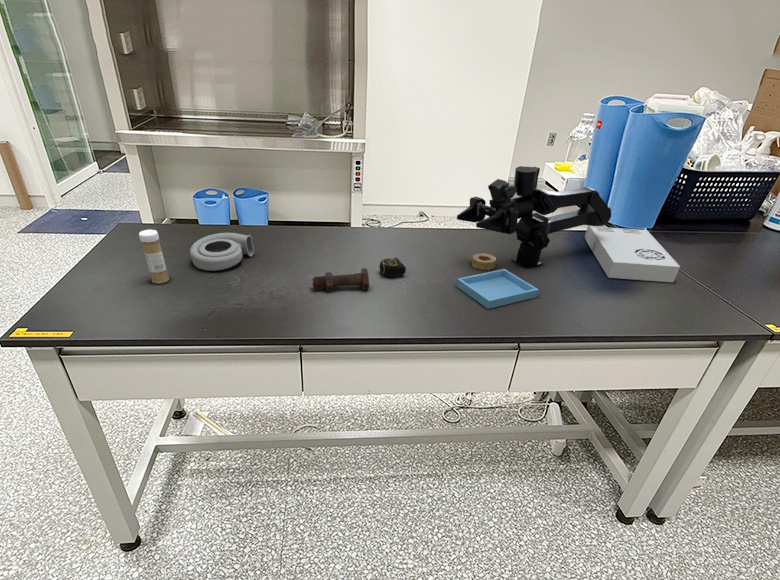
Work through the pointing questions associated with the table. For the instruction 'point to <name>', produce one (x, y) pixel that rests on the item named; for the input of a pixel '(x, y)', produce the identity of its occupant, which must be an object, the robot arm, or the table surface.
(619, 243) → the power supply unit
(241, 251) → the turbocharger housing
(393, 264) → the tape measure
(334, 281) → the bolt
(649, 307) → the table surface
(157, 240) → the sprinkles bottle
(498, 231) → the robot arm
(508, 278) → the tray
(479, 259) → the wooden ring
